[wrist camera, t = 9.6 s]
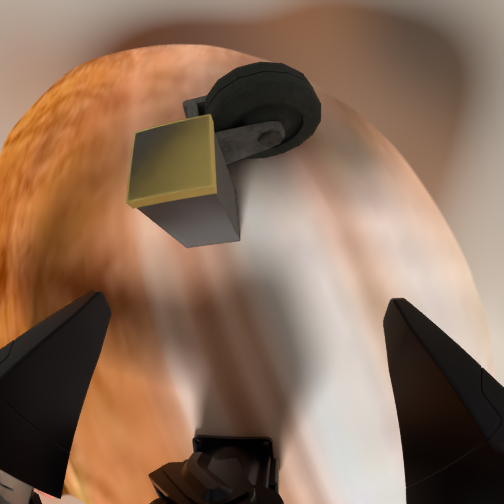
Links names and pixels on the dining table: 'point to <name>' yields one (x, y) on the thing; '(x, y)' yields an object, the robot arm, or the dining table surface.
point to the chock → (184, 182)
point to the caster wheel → (259, 110)
